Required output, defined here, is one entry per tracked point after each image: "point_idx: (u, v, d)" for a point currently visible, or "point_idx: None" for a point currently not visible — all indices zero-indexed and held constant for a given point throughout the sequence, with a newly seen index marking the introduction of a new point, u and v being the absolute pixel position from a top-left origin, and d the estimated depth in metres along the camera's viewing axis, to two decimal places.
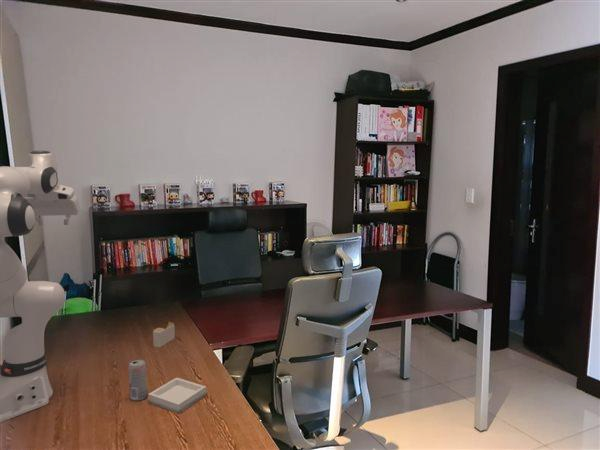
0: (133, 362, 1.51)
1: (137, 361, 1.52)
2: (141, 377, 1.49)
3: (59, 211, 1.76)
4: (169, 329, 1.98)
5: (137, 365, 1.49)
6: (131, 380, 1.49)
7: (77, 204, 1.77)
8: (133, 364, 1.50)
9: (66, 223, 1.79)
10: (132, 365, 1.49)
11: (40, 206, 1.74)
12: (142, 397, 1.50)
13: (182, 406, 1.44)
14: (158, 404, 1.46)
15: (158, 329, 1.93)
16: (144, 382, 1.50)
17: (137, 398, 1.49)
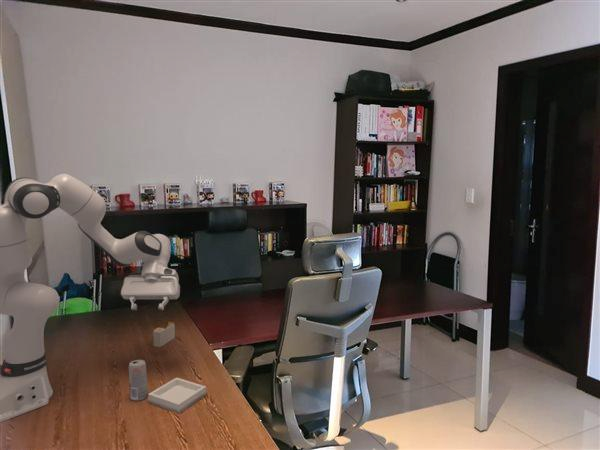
0: (133, 362, 1.51)
1: (137, 361, 1.52)
2: (141, 377, 1.49)
3: (159, 290, 1.63)
4: (169, 329, 1.98)
5: (137, 365, 1.49)
6: (131, 380, 1.49)
7: (178, 287, 1.66)
8: (133, 364, 1.50)
9: (161, 306, 1.61)
10: (132, 365, 1.49)
11: (142, 285, 1.64)
12: (142, 397, 1.50)
13: (182, 406, 1.44)
14: (158, 404, 1.46)
15: (158, 329, 1.93)
16: (144, 382, 1.50)
17: (137, 398, 1.49)
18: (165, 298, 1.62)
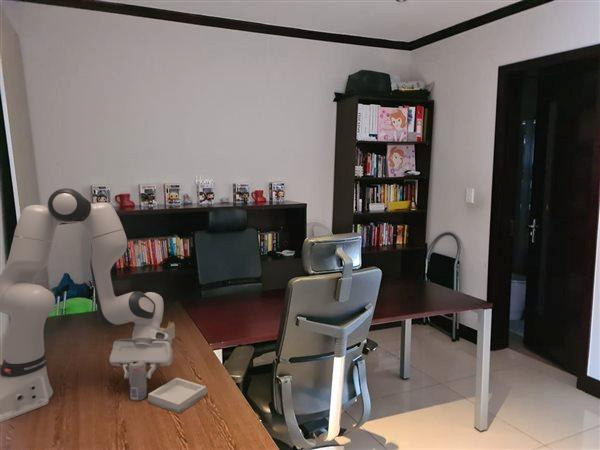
0: (133, 362, 1.51)
1: (137, 361, 1.52)
2: (141, 377, 1.49)
3: (150, 357, 1.53)
4: (169, 329, 1.98)
5: (137, 365, 1.49)
6: (131, 380, 1.49)
7: (171, 352, 1.56)
8: (133, 364, 1.50)
9: (148, 374, 1.50)
10: (132, 365, 1.49)
11: (133, 351, 1.54)
12: (142, 397, 1.50)
13: (182, 406, 1.44)
14: (158, 404, 1.46)
15: None
16: (144, 382, 1.50)
17: (137, 398, 1.49)
18: (152, 366, 1.52)
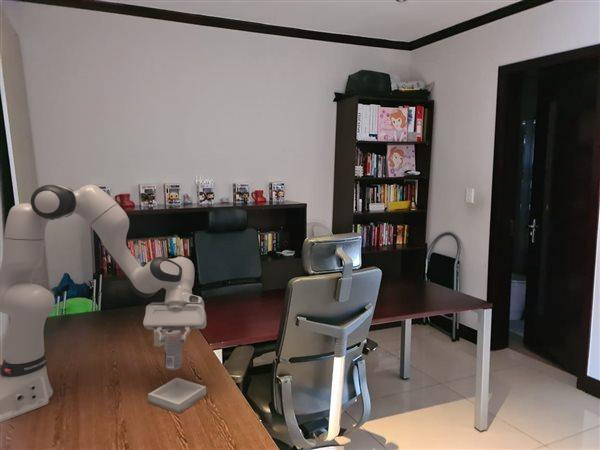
0: (168, 331, 1.49)
1: (172, 330, 1.50)
2: (176, 346, 1.47)
3: (184, 320, 1.51)
4: None
5: (172, 333, 1.47)
6: (167, 348, 1.47)
7: (205, 315, 1.54)
8: (168, 332, 1.48)
9: (183, 337, 1.48)
10: (168, 333, 1.47)
11: (166, 314, 1.52)
12: (178, 366, 1.48)
13: (182, 406, 1.44)
14: (158, 404, 1.46)
15: None
16: (180, 351, 1.49)
17: (173, 367, 1.48)
18: (187, 328, 1.50)
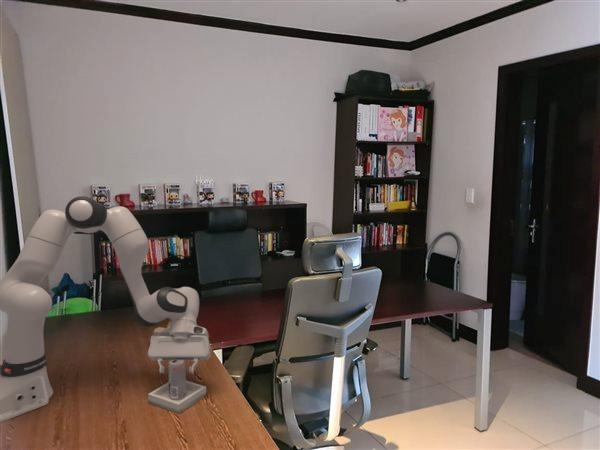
0: (172, 361, 1.50)
1: (176, 360, 1.51)
2: (181, 376, 1.48)
3: (189, 351, 1.52)
4: (169, 328, 1.98)
5: (177, 364, 1.48)
6: (171, 379, 1.48)
7: (209, 347, 1.55)
8: (173, 363, 1.49)
9: (191, 369, 1.49)
10: (172, 364, 1.48)
11: (171, 345, 1.53)
12: (182, 396, 1.49)
13: (182, 406, 1.44)
14: (158, 404, 1.46)
15: (159, 328, 1.94)
16: (184, 381, 1.49)
17: (177, 397, 1.48)
18: (195, 360, 1.51)
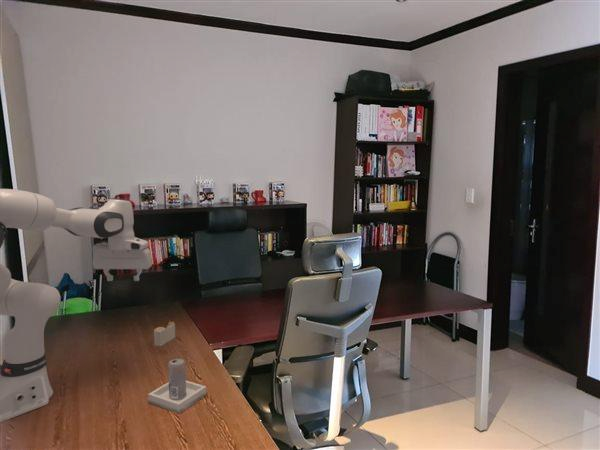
0: (172, 361, 1.50)
1: (176, 360, 1.51)
2: (181, 376, 1.48)
3: (130, 264, 1.64)
4: (170, 328, 1.99)
5: (177, 364, 1.48)
6: (171, 379, 1.48)
7: (149, 257, 1.65)
8: (173, 363, 1.49)
9: (136, 279, 1.66)
10: (172, 364, 1.48)
11: (113, 258, 1.64)
12: (182, 396, 1.49)
13: (182, 406, 1.44)
14: (158, 404, 1.46)
15: (159, 328, 1.94)
16: (184, 381, 1.49)
17: (177, 397, 1.48)
18: (138, 271, 1.65)
